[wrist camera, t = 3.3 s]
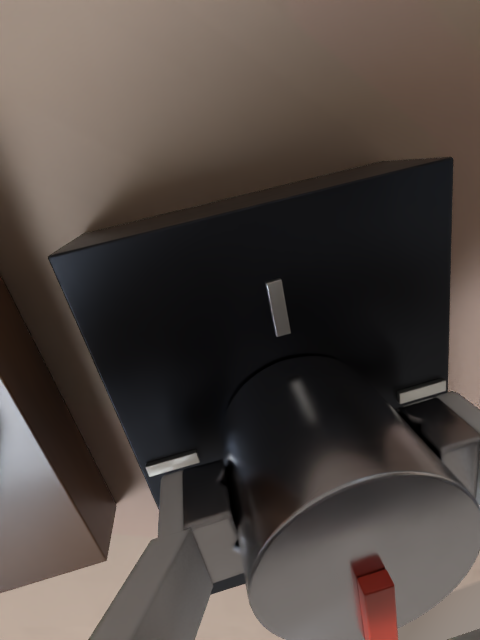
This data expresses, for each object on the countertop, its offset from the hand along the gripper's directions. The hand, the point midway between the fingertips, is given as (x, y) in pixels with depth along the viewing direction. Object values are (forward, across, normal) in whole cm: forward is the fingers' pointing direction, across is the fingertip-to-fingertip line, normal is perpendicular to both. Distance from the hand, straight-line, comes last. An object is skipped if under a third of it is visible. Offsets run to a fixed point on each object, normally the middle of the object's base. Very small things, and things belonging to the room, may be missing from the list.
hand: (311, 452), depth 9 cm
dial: (+1, 0, 0) cm, 1 cm away
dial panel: (+4, 0, 0) cm, 4 cm away
